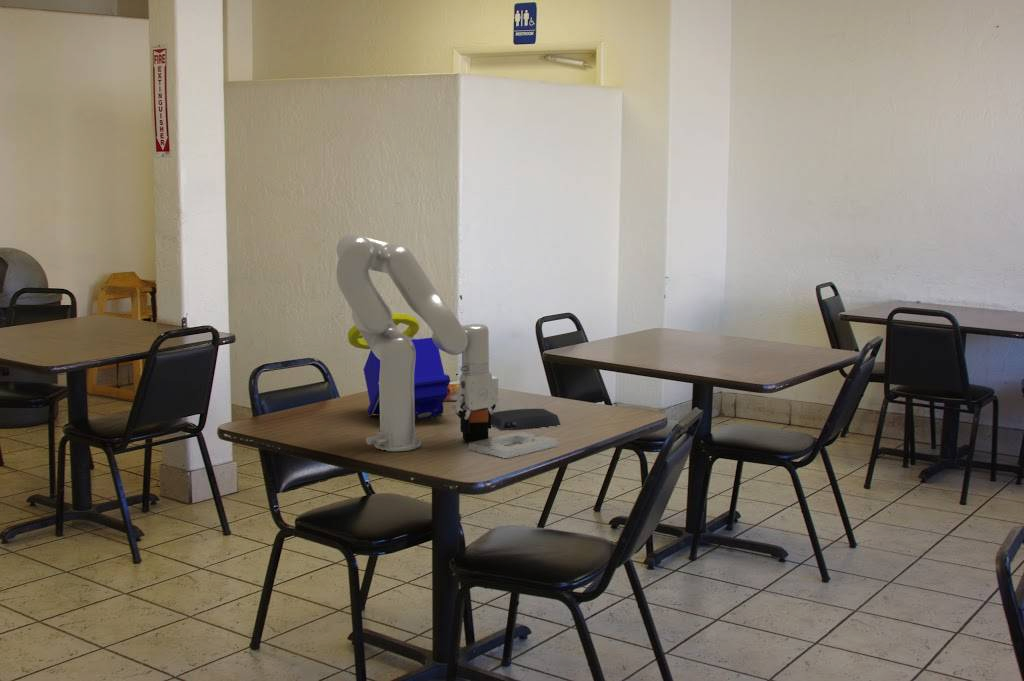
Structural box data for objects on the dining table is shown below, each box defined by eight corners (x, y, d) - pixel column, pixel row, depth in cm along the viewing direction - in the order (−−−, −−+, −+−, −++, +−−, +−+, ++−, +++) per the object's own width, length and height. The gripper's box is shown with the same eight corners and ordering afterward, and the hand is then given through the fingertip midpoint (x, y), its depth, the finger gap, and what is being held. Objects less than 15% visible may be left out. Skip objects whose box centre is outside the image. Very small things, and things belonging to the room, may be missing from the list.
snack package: (419, 403, 368) (419, 383, 367) (418, 399, 374) (417, 380, 373) (483, 401, 371) (483, 381, 370) (480, 398, 378) (480, 378, 377)
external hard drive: (486, 424, 337) (486, 410, 337) (544, 419, 344) (544, 406, 344) (501, 433, 325) (501, 419, 325) (561, 427, 332) (561, 414, 332)
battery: (488, 441, 312) (488, 406, 311) (464, 442, 311) (464, 407, 309) (485, 438, 316) (485, 403, 315) (462, 439, 315) (462, 404, 313)
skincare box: (493, 413, 351) (493, 375, 350) (498, 415, 348) (498, 377, 346) (475, 414, 349) (475, 377, 347) (481, 417, 345) (480, 379, 343)
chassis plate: (505, 458, 292) (505, 451, 292) (469, 450, 302) (469, 442, 302) (556, 446, 306) (556, 439, 306) (520, 438, 316) (520, 431, 316)
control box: (459, 398, 330) (438, 307, 340) (371, 410, 321) (352, 316, 331) (441, 427, 352) (422, 341, 362) (358, 439, 343) (341, 350, 354)
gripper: (461, 374, 302) (462, 437, 304) (506, 366, 314) (507, 427, 316) (443, 370, 307) (444, 433, 309) (488, 363, 319) (488, 423, 322)
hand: (476, 429), depth 313 cm, fingers closed on battery, 7 cm apart
